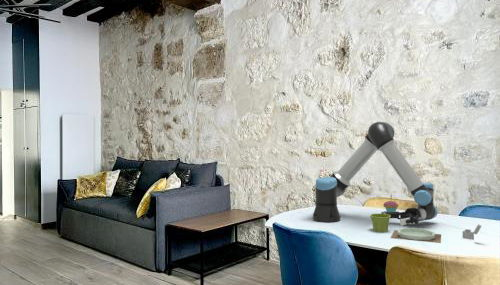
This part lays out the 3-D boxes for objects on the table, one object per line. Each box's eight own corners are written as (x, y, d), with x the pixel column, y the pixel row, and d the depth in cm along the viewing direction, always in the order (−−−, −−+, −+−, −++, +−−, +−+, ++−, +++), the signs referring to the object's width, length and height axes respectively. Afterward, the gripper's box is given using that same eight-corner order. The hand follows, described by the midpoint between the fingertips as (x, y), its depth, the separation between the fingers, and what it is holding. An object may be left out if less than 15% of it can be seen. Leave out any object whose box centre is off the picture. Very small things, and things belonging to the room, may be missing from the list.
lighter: (462, 241, 168) (462, 223, 168) (463, 240, 170) (463, 222, 169) (481, 244, 164) (481, 225, 164) (481, 243, 165) (481, 224, 165)
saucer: (396, 238, 169) (396, 234, 169) (400, 230, 182) (400, 227, 182) (434, 242, 162) (434, 237, 162) (435, 234, 175) (435, 230, 175)
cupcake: (399, 214, 229) (399, 194, 229) (384, 213, 230) (384, 193, 230) (397, 211, 237) (396, 192, 237) (382, 211, 239) (382, 192, 239)
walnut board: (390, 241, 170) (390, 237, 170) (394, 233, 184) (394, 230, 184) (440, 246, 160) (440, 243, 160) (441, 237, 175) (441, 234, 175)
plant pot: (380, 236, 178) (380, 218, 177) (366, 232, 186) (365, 214, 186) (395, 234, 182) (395, 216, 182) (380, 230, 190) (380, 212, 190)
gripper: (438, 226, 187) (411, 232, 176) (393, 218, 208) (367, 223, 197) (438, 211, 187) (411, 216, 176) (393, 204, 208) (367, 208, 197)
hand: (388, 220), depth 186 cm, fingers open, 13 cm apart
